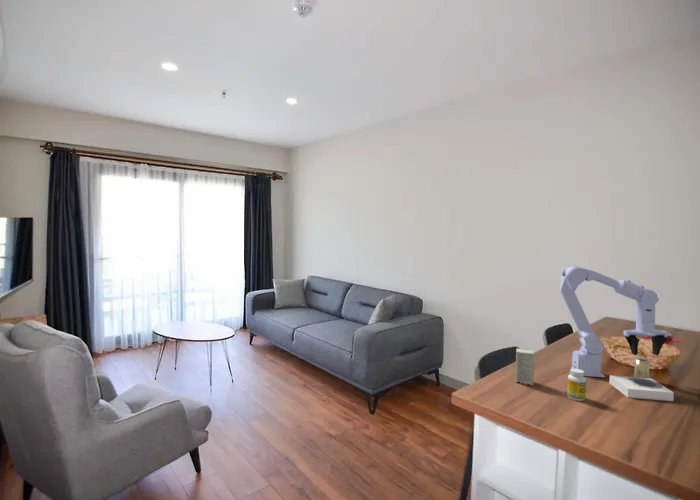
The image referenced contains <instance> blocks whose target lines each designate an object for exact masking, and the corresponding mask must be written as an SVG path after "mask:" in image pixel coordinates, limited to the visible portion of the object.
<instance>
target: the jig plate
mask: <svg viewBox="0 0 700 500" xmlns="http://www.w3.org/2000/svg"><path fill="white" fill-rule="evenodd" d="M609 384H610V385H611V386H612V387H614V389H616V390H618V391H619V392H620V393H622V395H624V396H625V397H626V398H630V399H631V398H632V399H642V400H643V399H645V400H655V401H666V402H667V401H668V402H674V398H675V396H674V395H675V392H674V391H672V390H671V389H669V388H667V387H666V386H664V385H663V384H661V383H659V382H658V381H656V380H655V379H653V378H651V377H650V378H638V377H634V376H624V375H623V376H622V375H611V374H610V375H609Z"/></svg>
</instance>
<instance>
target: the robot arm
mask: <svg viewBox="0 0 700 500" xmlns="http://www.w3.org/2000/svg"><path fill="white" fill-rule="evenodd" d="M590 281H591V282H593V281H595V282H598V283H600V284H602V285H603V284H604V285H605V286H608V287H611V288H613V289H614V291H615V293H616V294H619V295H621V296H624V297H626V298H629V299H631V300H634V301H636V302H635V303H636V305H635V307H636V309H635V328H634V329H627V330H626V329H624V330H623V336H624V338H625V340H626V341H627V343H628V345H629V348H630V349H629V350H630V351H631V352H630V353H631V354H632V355H634V356H638V352H639V351H638V350H639V348H638V347H639V342H640V338H638V337H650V339H651V343H652V354H653V355H655V356H659V355H660V352H661V349H662V347H663V346H664V344H665V343H666V342H667V341H668V339H667V337H668V334H669V333H668V331H665V330H659V329H656V304H657V303H658V302H659V299H660V298H659V297H658V294H657V293H656V291H654V290H651V289H649V288H646V287H645V286H644V285H642V284H641V285H639V284H636V283H633V282H632V280H630V279H627V278H626V279H624V278H623V279H620V280H617V279H614V278H611V277H610V276H608V275H604V274H602V273H601V272H597V271H595V270H592V269H588V268H585V267H581V266H577V265H572V264H571V265H567V266H566V267H565V268H564V270H563V271H562V272H561V280H560V284H559V292H560V294H561V296H562V298H563V301H564V303H565V305H566V307H567V309H568V311H569V314H570V315H571V318H572V320H573V322H574V324H575V326H576V329H577V332H578V334H579V344H580V345H581V346H580V348H579V350H573V352H572V355H571V356H572V357H571V367H570V370H571V369H580V370H583V371H584V376H583V377H595V378H606V375H604V374H603V373H602V371H601V368H602V352H603V350H604V343H603V342H602V340H600V339H599V338H598V336H597V335H596V332H595V331H594V330H593V328H592V326H591V323H590V322H589V319H588V318H587V316H586V313H585V311H584V308H583V306H582V304H581V303H580V301H579V298H578V295H577V294H576V290H577V289H578V287H579V286H580V285H581V284H582V283H584V282H590Z"/></svg>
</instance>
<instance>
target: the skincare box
mask: <svg viewBox="0 0 700 500" xmlns="http://www.w3.org/2000/svg"><path fill="white" fill-rule="evenodd" d="M534 377H535V351H534V350H533V349H525V348H516V350H515V383H516V382H521V383H526V384H525V385H527V384H531V385H530V386H534V381H535V380H534V379H535V378H534ZM521 383H520V384H521Z"/></svg>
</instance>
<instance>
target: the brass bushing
mask: <svg viewBox="0 0 700 500" xmlns="http://www.w3.org/2000/svg"><path fill="white" fill-rule="evenodd" d="M650 364H651V363H650V360H649V359H647V358H644V357H643V358H641V357H635V358H634V371H633V377H638V378H649V377H650V376H649V375H650Z"/></svg>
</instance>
